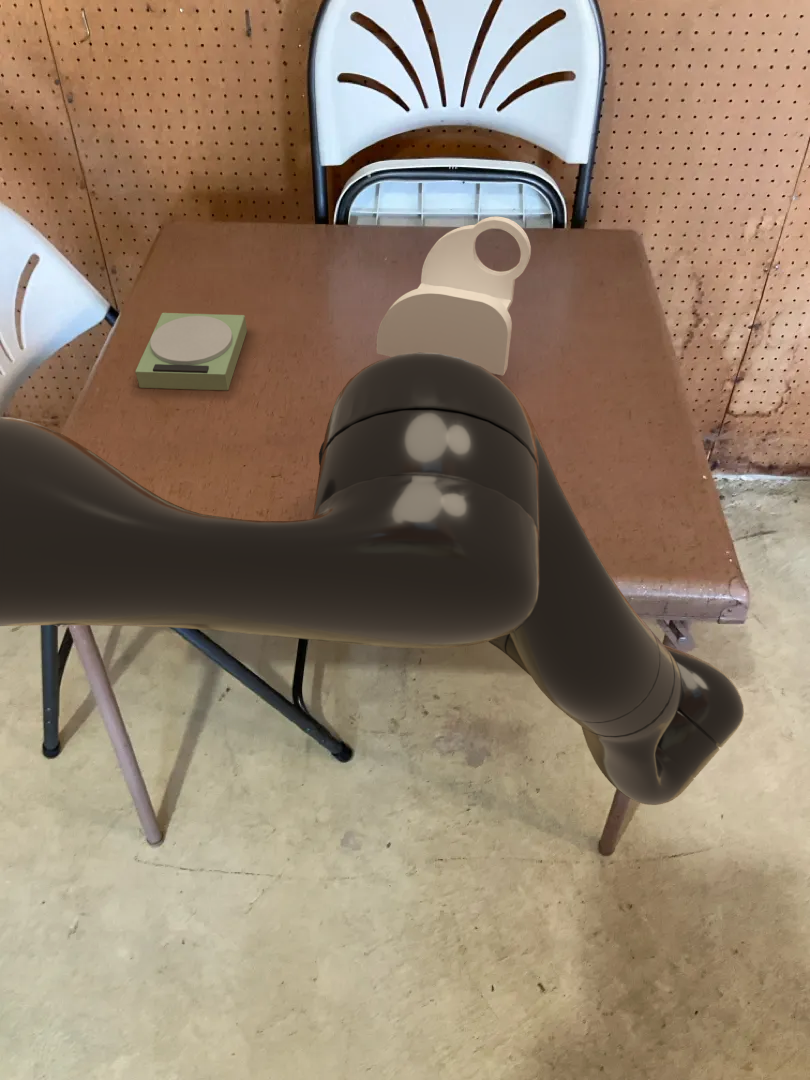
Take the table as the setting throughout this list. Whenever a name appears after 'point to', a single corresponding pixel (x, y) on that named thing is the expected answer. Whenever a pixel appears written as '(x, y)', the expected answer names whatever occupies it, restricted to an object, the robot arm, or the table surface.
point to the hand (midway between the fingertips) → (367, 477)
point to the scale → (192, 352)
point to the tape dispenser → (458, 302)
